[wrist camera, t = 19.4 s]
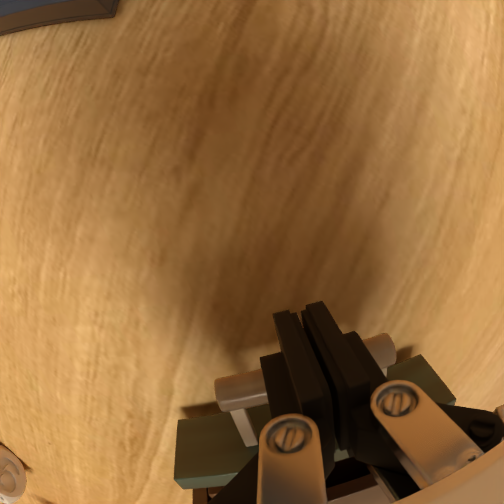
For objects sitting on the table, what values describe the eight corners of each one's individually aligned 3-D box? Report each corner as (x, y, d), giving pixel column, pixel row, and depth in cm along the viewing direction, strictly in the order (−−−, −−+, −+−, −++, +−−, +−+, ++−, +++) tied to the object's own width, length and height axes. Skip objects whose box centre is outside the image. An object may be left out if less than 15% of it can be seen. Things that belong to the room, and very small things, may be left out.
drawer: (144, 361, 13) (128, 426, 9) (427, 287, 13) (476, 329, 10) (245, 513, 20) (250, 548, 17) (394, 473, 20) (408, 504, 17)
